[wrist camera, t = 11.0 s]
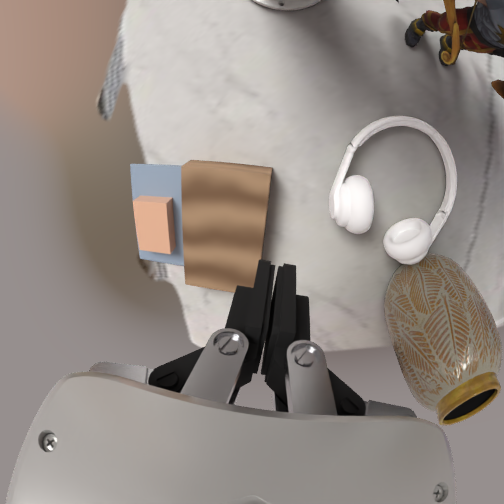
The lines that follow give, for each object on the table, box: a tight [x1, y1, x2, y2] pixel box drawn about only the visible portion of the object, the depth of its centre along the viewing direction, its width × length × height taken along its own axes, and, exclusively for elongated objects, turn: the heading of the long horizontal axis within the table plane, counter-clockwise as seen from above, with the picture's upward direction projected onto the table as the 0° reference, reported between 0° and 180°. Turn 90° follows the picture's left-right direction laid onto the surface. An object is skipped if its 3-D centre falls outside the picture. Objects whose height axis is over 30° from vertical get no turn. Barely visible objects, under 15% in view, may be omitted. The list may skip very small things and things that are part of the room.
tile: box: [133, 196, 176, 254], centre depth 43 cm, size 9×6×2 cm, turn 176°
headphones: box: [329, 116, 457, 265], centre depth 33 cm, size 20×8×20 cm
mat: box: [130, 164, 184, 266], centre depth 44 cm, size 18×10×1 cm, turn 175°
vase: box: [384, 253, 502, 426], centre depth 32 cm, size 17×17×27 cm
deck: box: [181, 160, 272, 293], centre depth 41 cm, size 20×12×4 cm, turn 175°
